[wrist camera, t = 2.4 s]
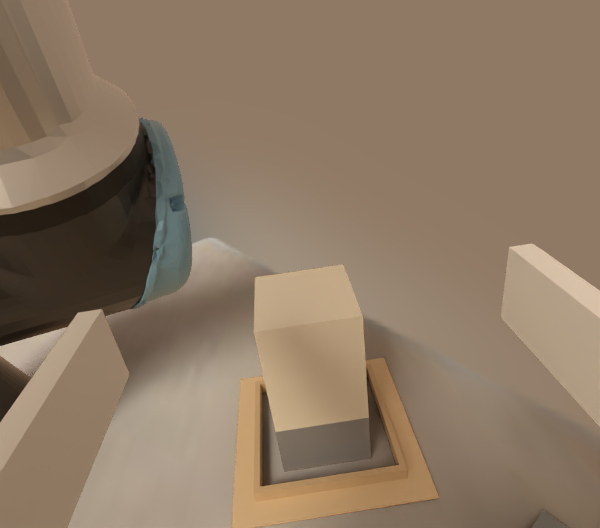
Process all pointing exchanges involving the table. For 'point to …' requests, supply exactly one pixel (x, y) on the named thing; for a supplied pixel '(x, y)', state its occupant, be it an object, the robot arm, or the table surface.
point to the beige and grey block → (313, 366)
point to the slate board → (547, 521)
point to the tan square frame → (336, 488)
